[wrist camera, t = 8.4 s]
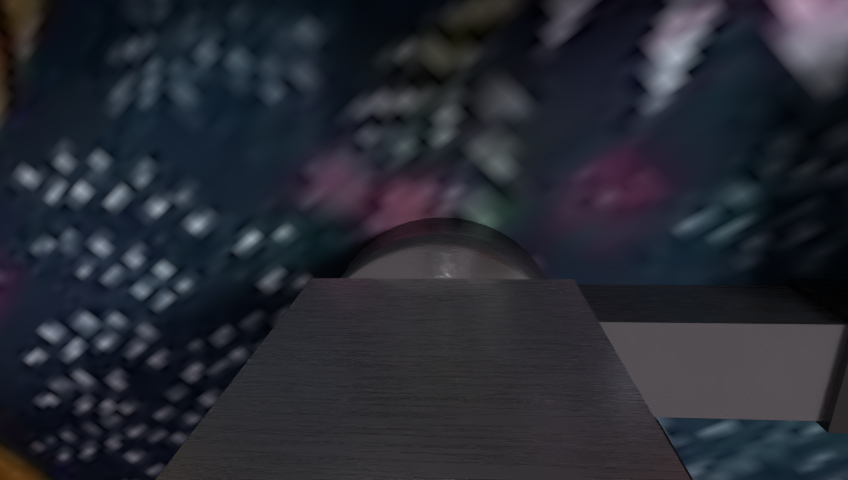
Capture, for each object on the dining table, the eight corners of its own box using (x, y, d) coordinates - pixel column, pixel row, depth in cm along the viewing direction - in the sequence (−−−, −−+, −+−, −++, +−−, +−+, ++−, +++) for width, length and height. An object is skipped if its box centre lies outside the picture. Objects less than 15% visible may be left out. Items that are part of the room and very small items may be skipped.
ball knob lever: (1122, 213, 13) (1864, 357, 6) (1026, 432, 15) (1491, 718, 8) (324, 218, 14) (204, 334, 8) (342, 414, 16) (261, 640, 10)
